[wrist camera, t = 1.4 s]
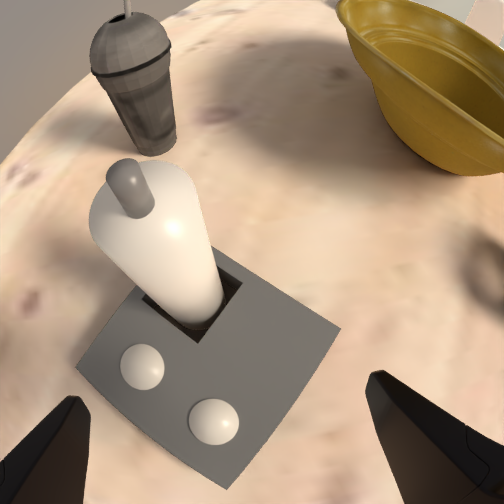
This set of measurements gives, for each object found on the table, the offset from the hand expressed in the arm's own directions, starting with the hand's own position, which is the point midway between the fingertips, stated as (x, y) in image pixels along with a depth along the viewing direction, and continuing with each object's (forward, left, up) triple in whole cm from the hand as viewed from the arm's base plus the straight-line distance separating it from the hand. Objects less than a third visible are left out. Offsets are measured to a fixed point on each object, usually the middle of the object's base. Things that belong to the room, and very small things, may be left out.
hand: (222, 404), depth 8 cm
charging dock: (+1, +3, -14) cm, 15 cm away
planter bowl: (+38, -4, -14) cm, 41 cm away
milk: (+105, -11, -14) cm, 106 cm away
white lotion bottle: (+4, +7, -14) cm, 16 cm away
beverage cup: (+15, +22, -14) cm, 30 cm away
